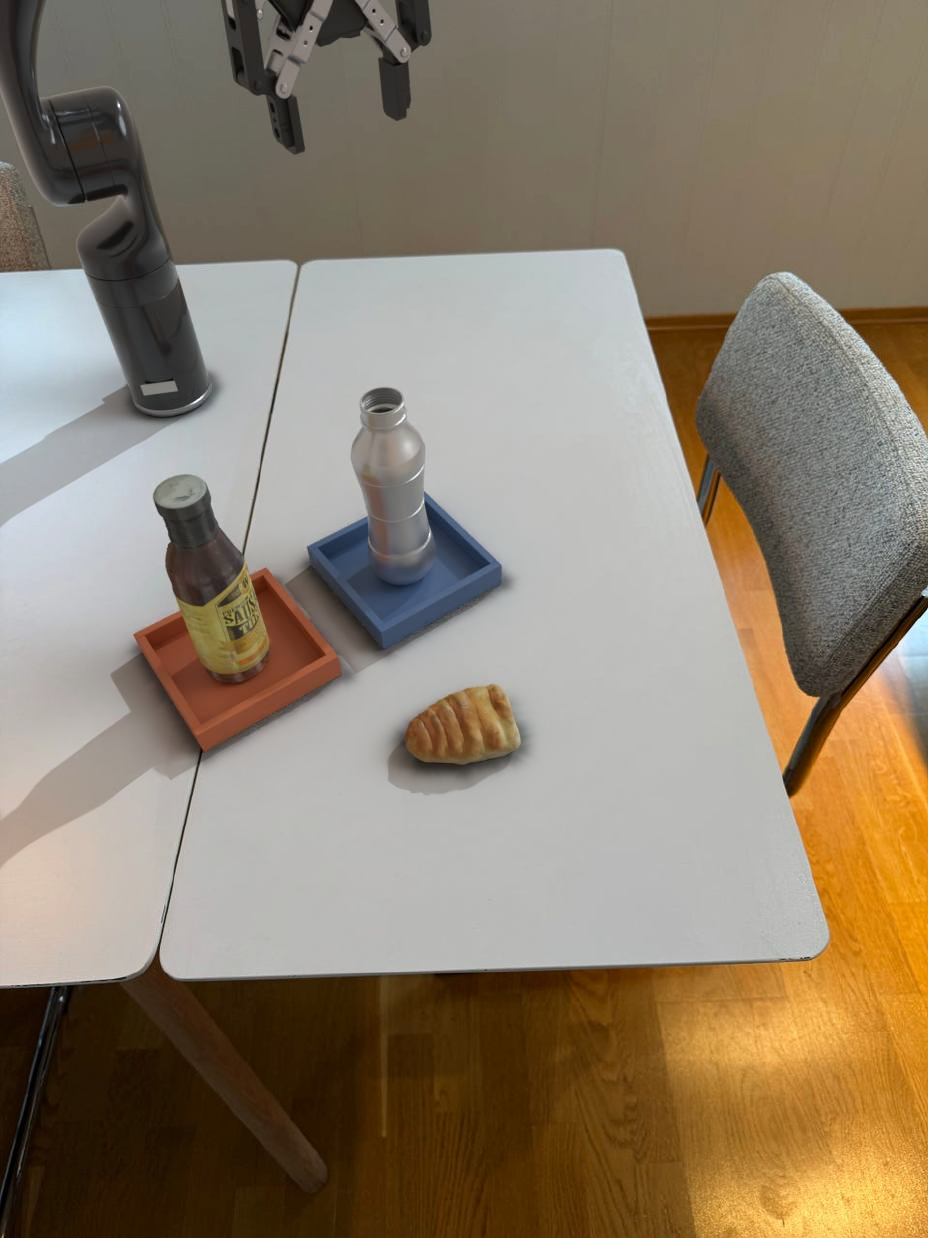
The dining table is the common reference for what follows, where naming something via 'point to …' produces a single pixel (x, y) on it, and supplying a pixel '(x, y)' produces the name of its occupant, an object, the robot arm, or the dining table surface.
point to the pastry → (464, 728)
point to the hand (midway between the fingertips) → (345, 133)
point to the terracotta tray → (234, 707)
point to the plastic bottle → (393, 488)
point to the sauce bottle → (211, 583)
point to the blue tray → (416, 605)
